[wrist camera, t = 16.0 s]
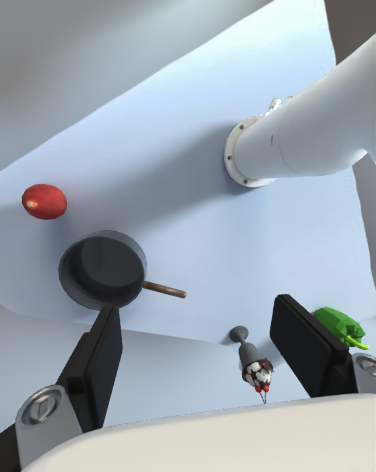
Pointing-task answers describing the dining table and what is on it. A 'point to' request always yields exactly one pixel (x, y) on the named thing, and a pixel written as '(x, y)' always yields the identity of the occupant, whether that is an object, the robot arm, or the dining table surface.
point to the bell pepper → (342, 327)
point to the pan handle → (164, 289)
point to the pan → (103, 270)
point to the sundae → (252, 362)
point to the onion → (44, 201)
